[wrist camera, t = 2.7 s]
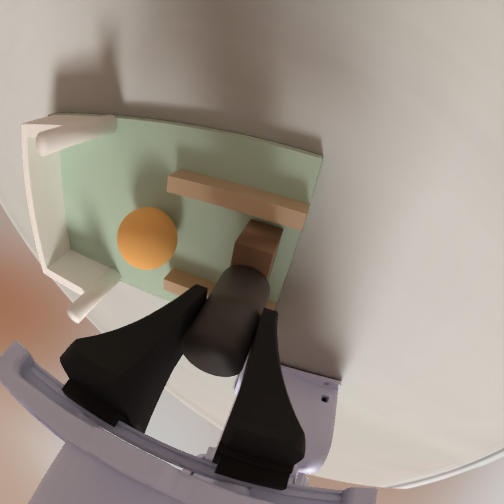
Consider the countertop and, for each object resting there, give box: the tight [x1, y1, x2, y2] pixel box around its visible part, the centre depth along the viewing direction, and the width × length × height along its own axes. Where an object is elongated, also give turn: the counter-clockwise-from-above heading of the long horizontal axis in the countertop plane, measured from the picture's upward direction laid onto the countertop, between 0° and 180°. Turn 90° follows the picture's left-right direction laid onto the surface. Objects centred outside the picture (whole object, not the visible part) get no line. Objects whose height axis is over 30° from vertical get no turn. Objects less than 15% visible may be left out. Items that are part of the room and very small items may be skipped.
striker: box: [181, 219, 283, 377], centre depth 14 cm, size 3×5×8 cm, turn 169°
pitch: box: [21, 113, 323, 323], centre depth 17 cm, size 22×14×7 cm, turn 79°
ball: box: [117, 207, 178, 270], centre depth 17 cm, size 4×4×4 cm
